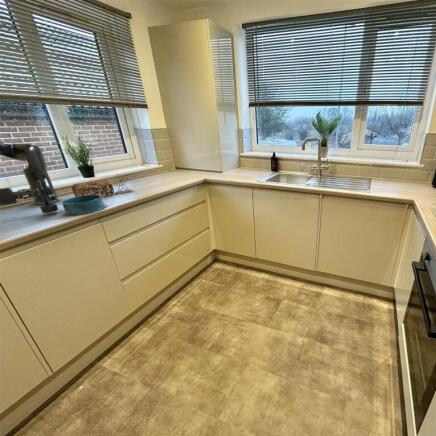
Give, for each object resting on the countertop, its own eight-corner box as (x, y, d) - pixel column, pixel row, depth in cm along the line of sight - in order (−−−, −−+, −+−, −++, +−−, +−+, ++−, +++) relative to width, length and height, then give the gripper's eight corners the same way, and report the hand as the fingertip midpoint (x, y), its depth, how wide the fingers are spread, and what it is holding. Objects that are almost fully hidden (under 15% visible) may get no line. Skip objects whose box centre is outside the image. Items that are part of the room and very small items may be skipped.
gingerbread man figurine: (116, 194, 154) (111, 176, 150) (115, 193, 157) (110, 175, 152) (132, 191, 160) (127, 173, 155) (131, 190, 162) (126, 173, 158)
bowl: (57, 214, 121) (52, 203, 118) (86, 204, 136) (83, 194, 133) (85, 215, 119) (81, 204, 116) (112, 205, 134) (108, 195, 131)
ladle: (39, 212, 120) (25, 181, 114) (51, 208, 125) (38, 178, 119) (49, 213, 119) (35, 181, 113) (61, 209, 124) (49, 178, 118)
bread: (78, 202, 140) (72, 185, 136) (75, 199, 146) (69, 183, 142) (116, 195, 153) (111, 179, 149) (111, 192, 159) (106, 177, 155)
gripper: (-7, 192, 103) (48, 184, 114) (-5, 187, 112) (46, 180, 123) (1, 208, 106) (54, 199, 117) (3, 202, 114) (52, 194, 126)
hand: (50, 189), depth 120 cm, fingers closed on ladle
